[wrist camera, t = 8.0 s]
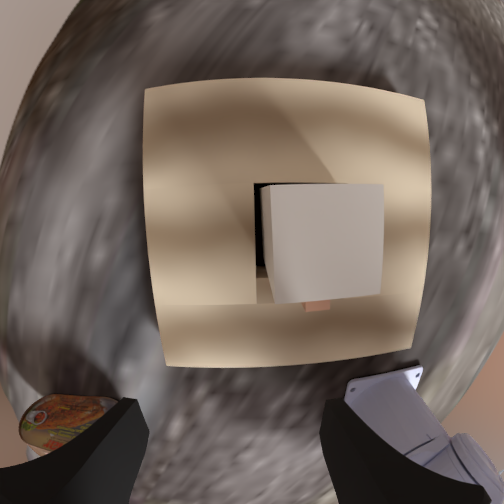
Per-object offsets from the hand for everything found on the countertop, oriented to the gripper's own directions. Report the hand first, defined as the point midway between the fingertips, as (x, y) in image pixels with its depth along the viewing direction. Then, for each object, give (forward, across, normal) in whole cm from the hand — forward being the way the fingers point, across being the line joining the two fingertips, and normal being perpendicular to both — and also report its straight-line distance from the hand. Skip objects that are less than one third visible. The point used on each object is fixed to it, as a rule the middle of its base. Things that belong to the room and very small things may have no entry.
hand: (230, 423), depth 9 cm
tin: (+11, +17, +12) cm, 23 cm away
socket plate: (+10, -4, -6) cm, 13 cm away
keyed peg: (+10, -4, -6) cm, 13 cm away
